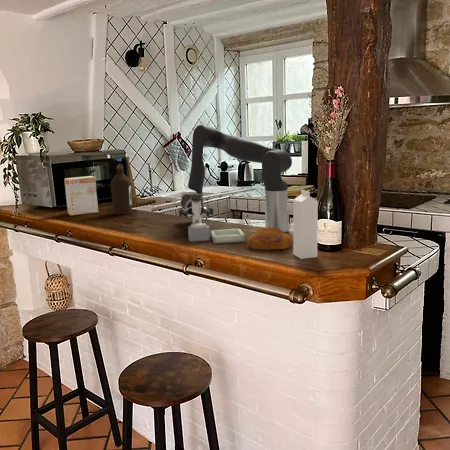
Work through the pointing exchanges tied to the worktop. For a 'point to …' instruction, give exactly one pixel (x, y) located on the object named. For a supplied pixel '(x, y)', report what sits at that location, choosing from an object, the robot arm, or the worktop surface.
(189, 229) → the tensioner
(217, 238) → the tray
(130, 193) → the olive oil
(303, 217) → the milk
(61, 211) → the worktop surface
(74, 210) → the coffeecake box
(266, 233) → the bread loaf
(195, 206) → the lock pin
